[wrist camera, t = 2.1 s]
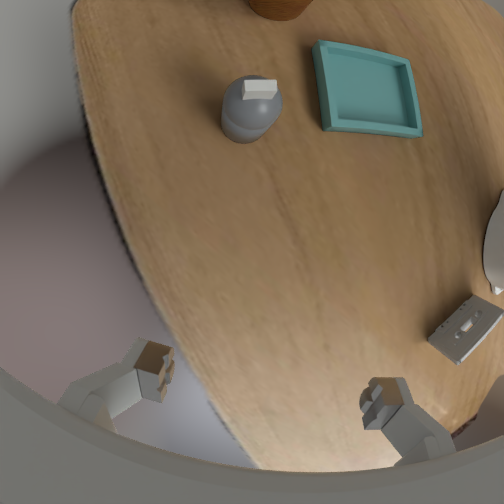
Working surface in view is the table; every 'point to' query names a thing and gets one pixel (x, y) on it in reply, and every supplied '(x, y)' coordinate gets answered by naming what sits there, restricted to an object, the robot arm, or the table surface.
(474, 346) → the cassette
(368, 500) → the robot arm
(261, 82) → the gray bottle
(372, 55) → the tray
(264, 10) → the disposable coffee cup
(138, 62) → the table surface
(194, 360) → the table surface
